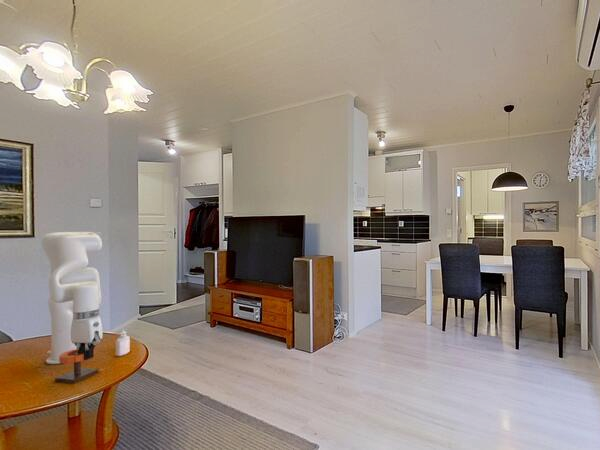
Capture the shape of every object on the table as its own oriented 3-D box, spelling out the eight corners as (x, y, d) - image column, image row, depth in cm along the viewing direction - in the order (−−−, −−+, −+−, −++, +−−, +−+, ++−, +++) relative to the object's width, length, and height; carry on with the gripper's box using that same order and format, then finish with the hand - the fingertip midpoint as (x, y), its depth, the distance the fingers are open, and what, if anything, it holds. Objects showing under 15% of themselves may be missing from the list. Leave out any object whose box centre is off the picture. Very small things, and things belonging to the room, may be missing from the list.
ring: (52, 362, 123) (52, 356, 123) (81, 352, 133) (81, 346, 133) (73, 364, 122) (73, 358, 122) (101, 353, 132) (101, 348, 132)
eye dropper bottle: (131, 352, 151) (132, 328, 151) (116, 357, 146) (117, 332, 146) (128, 350, 153) (128, 327, 153) (113, 355, 148) (113, 330, 148)
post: (54, 381, 123) (54, 357, 123) (80, 371, 132) (80, 348, 132) (73, 383, 122) (74, 358, 122) (98, 372, 131) (98, 349, 131)
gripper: (112, 312, 129) (112, 355, 130) (79, 310, 131) (79, 353, 132) (92, 318, 122) (92, 364, 122) (58, 316, 124) (58, 361, 124)
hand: (85, 358), depth 127 cm, fingers closed on ring, 2 cm apart
